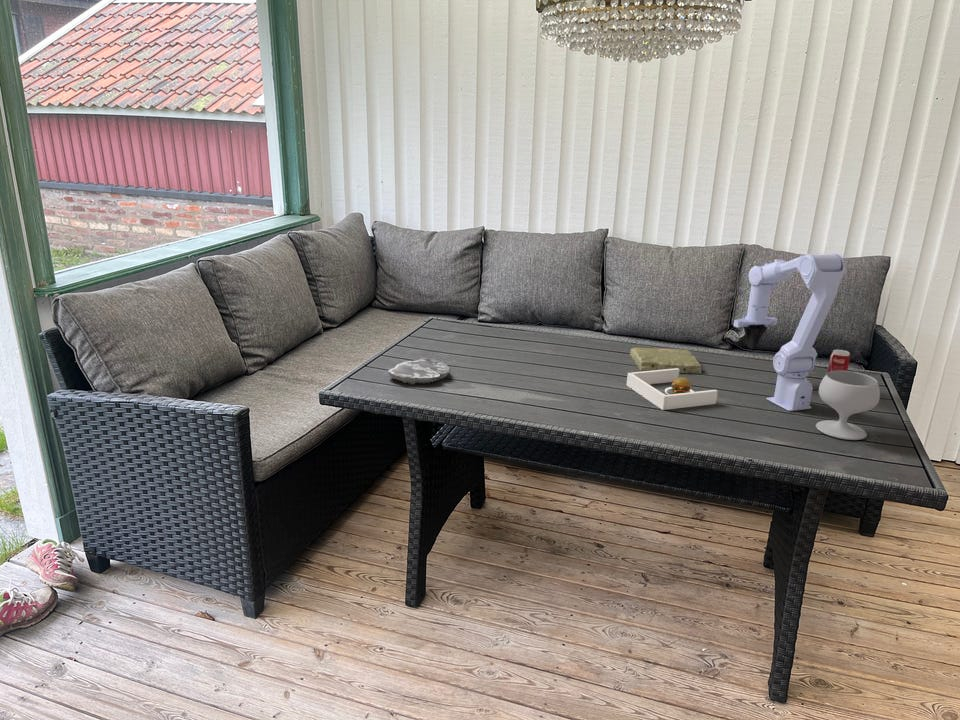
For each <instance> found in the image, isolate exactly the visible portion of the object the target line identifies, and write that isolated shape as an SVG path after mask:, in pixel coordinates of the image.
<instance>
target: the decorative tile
mask: <svg viewBox="0 0 960 720" xmlns="http://www.w3.org/2000/svg"><path fill="white" fill-rule="evenodd" d="M629 355H630V357H631V359H632V360H633V362H634V363H635V365H636V366H637V368H638V367H639V368H638V369H639V370H640V371H641V370H642V371H641V372H643V371H653V370H664V369H674V368H678V369H679V374H698V373H699V374H702V365H701V364H700V362H699V361H698V360H697V358H696V357H695V355H693V353H692V352H690V351H689V349H677V348H655V347H650V348H649V347H647V348H646V347H640V346H639V347H633V348H631V349H630V351H629Z"/></svg>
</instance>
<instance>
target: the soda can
mask: <svg viewBox="0 0 960 720" xmlns="http://www.w3.org/2000/svg"><path fill="white" fill-rule="evenodd" d="M850 360H851V356H850V351H848V350H844V349H833V350H832V352H831V354H830V357H829V362H828V368H827V373H828V372H830V371H837V370H843V371H849V364H850ZM827 373H826V374H827Z"/></svg>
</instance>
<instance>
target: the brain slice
mask: <svg viewBox="0 0 960 720" xmlns="http://www.w3.org/2000/svg"><path fill="white" fill-rule="evenodd" d="M450 372H451V367H450V366H448V364H447V363H446V362H445V361H444V360H441V359H437V358H434V357H424V358H420V359H417V360H409V361H403V362H400V363H398V364H396V365H395V367H392V368H390V369H388V370H387V373H388V375H389V377H390V378H392V379H394V380H395V379H396V380H395V381H398V380H399V382H401V381H402V383H404V384H405V383H408V384H409V383H410V384H409V385H416V384H415V383H422V384H431V383H430V382H432V383H434V381H435V382H436V381H440V379H441V380H443V379H444V378H446V377H447V376H448V375H449V373H450Z"/></svg>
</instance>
